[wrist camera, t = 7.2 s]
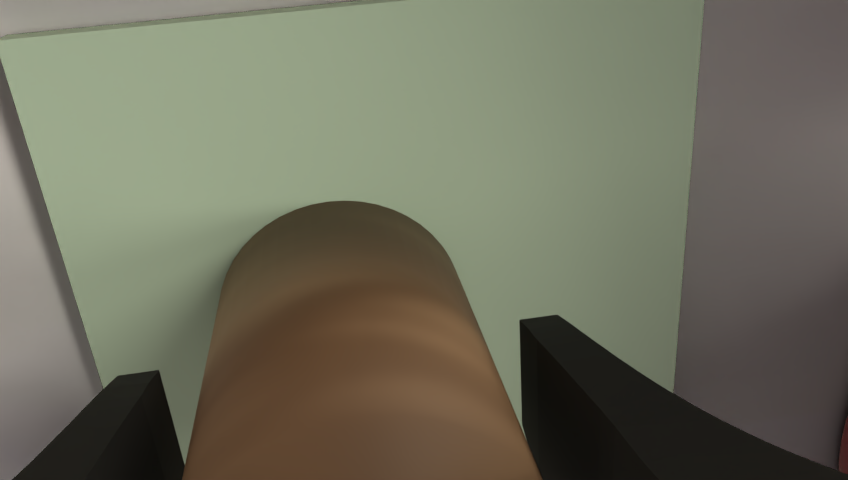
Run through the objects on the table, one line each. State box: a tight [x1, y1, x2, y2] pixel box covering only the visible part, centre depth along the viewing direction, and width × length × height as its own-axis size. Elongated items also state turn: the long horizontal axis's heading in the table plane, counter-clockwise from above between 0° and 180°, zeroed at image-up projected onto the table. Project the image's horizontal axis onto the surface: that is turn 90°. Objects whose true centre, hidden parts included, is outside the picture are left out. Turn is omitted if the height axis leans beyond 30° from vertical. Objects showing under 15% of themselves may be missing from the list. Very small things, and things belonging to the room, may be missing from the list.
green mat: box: [0, 0, 704, 464], centre depth 14 cm, size 11×11×1 cm
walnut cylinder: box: [182, 201, 543, 480], centre depth 11 cm, size 4×4×6 cm
